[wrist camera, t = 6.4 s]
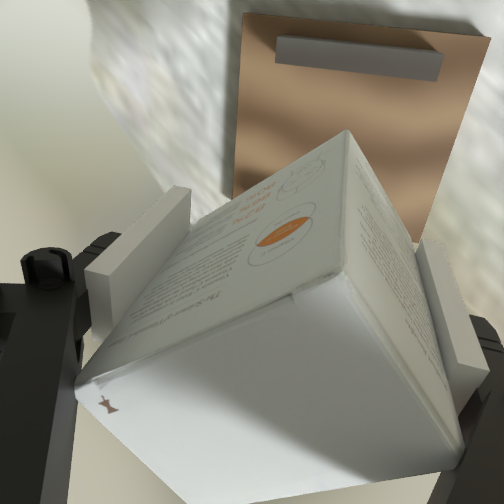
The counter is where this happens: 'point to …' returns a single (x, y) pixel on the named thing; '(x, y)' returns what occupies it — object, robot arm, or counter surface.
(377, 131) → the mounting plate
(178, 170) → the counter surface
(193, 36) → the counter surface
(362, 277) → the small box
